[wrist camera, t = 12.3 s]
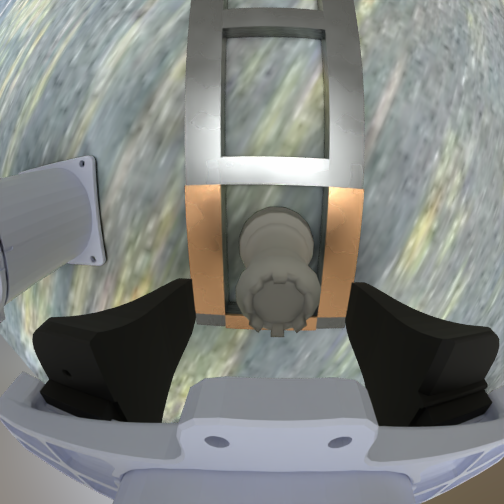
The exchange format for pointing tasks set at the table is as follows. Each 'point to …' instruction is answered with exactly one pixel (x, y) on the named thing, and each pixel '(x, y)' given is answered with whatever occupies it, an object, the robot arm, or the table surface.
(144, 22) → the table surface
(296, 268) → the rook chess piece
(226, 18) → the hole rail
